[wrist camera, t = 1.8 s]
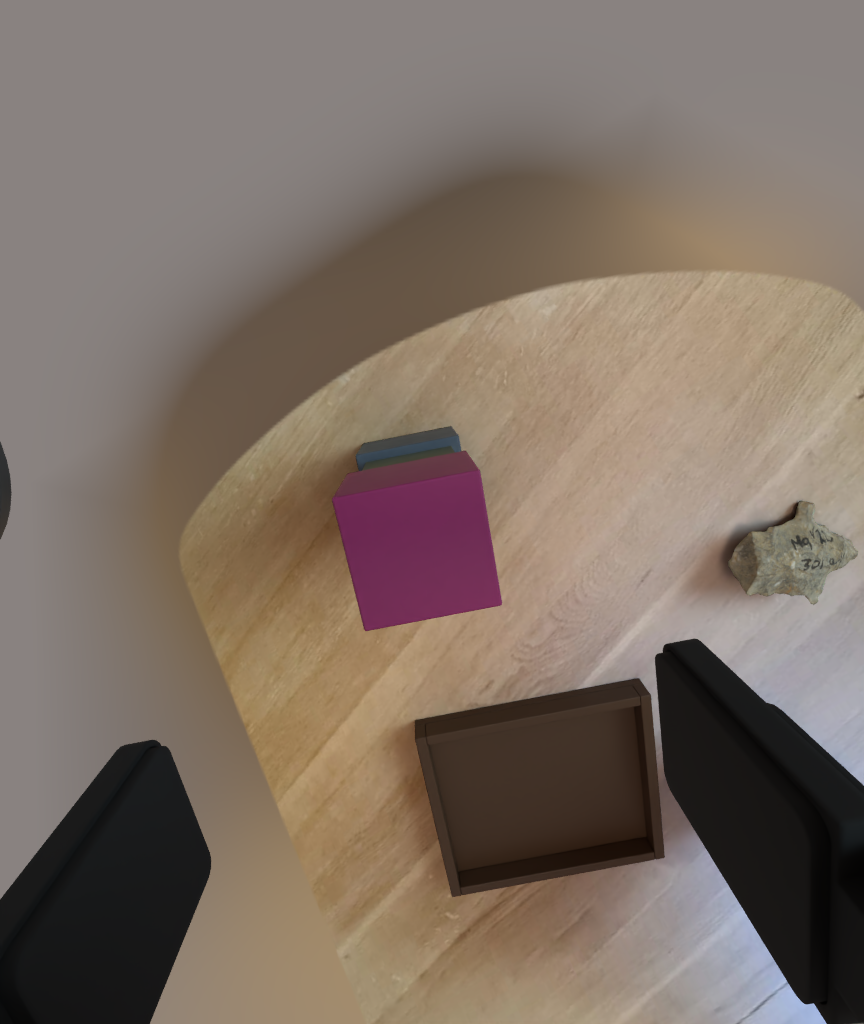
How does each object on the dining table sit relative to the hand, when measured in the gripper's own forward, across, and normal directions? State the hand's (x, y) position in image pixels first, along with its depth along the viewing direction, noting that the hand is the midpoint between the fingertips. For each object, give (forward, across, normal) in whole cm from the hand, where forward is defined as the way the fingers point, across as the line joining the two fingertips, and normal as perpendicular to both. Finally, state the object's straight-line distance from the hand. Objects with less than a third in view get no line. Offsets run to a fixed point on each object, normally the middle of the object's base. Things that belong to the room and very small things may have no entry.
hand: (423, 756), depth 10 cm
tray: (+26, -5, +26) cm, 38 cm away
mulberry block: (+16, 0, 0) cm, 16 cm away
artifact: (+26, -25, +10) cm, 38 cm away
